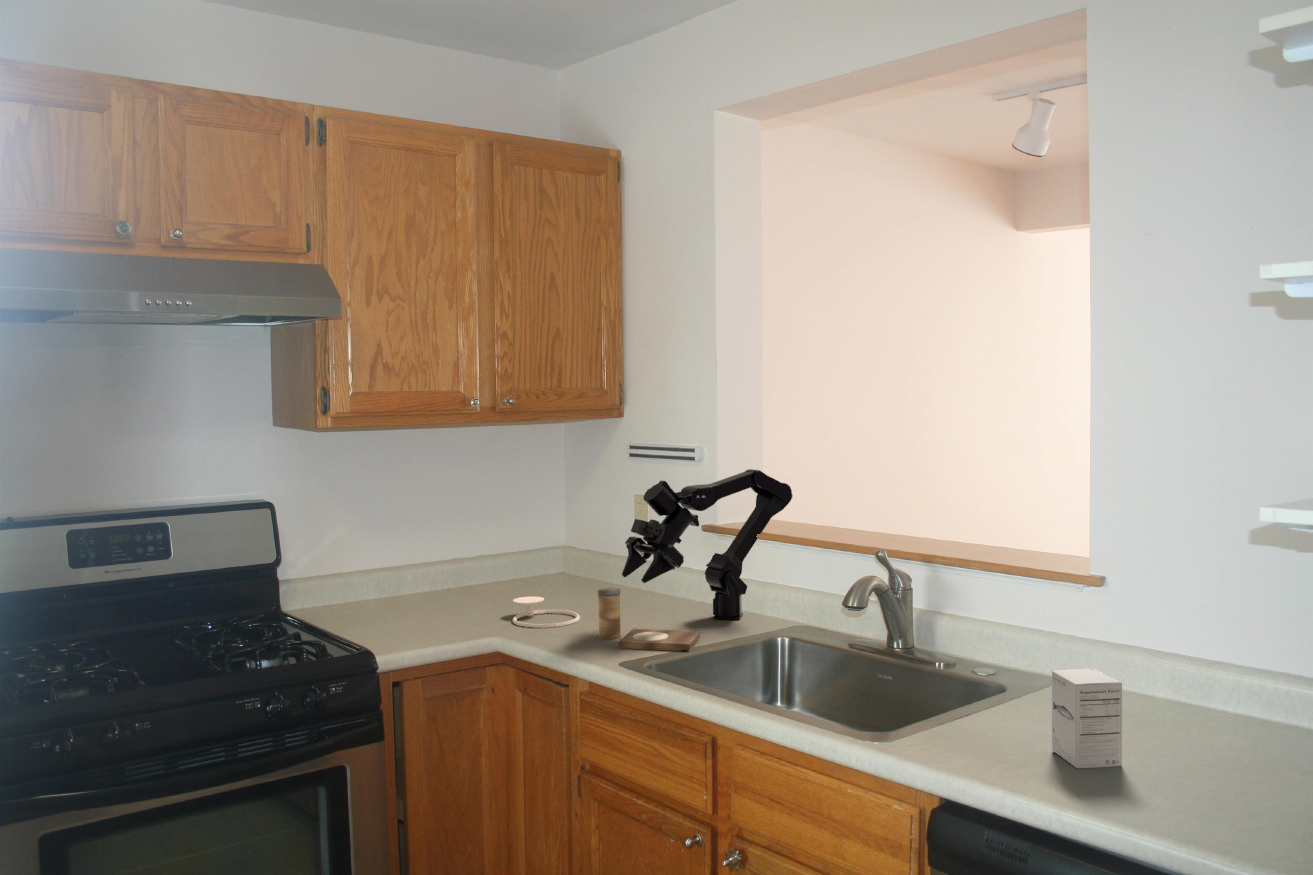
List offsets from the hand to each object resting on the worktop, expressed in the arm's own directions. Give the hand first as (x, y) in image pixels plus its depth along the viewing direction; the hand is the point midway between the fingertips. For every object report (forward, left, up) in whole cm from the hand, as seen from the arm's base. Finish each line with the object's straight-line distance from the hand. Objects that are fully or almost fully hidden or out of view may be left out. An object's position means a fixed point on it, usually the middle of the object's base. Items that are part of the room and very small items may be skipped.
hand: (632, 578), depth 230 cm
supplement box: (-87, +67, -13) cm, 111 cm away
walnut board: (-8, +9, -13) cm, 18 cm away
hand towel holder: (+27, -11, -13) cm, 32 cm away
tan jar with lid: (+5, +5, -13) cm, 14 cm away
